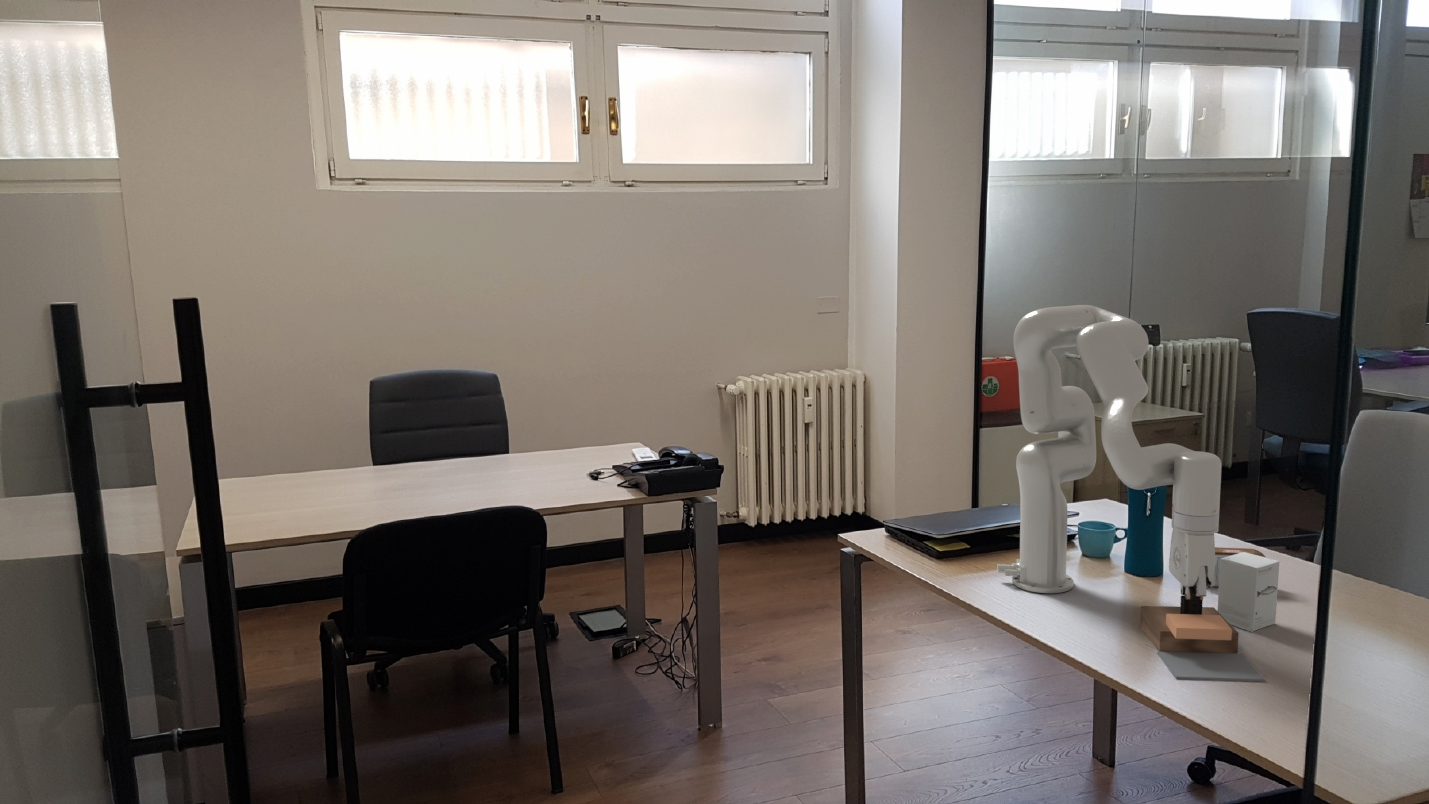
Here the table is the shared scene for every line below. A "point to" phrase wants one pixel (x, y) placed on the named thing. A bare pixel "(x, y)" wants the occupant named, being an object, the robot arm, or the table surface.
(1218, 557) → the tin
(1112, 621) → the table surface
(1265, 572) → the supplement box
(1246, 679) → the mat
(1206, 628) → the orange block
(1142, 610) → the wooden block
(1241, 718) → the table surface
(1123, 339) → the robot arm
